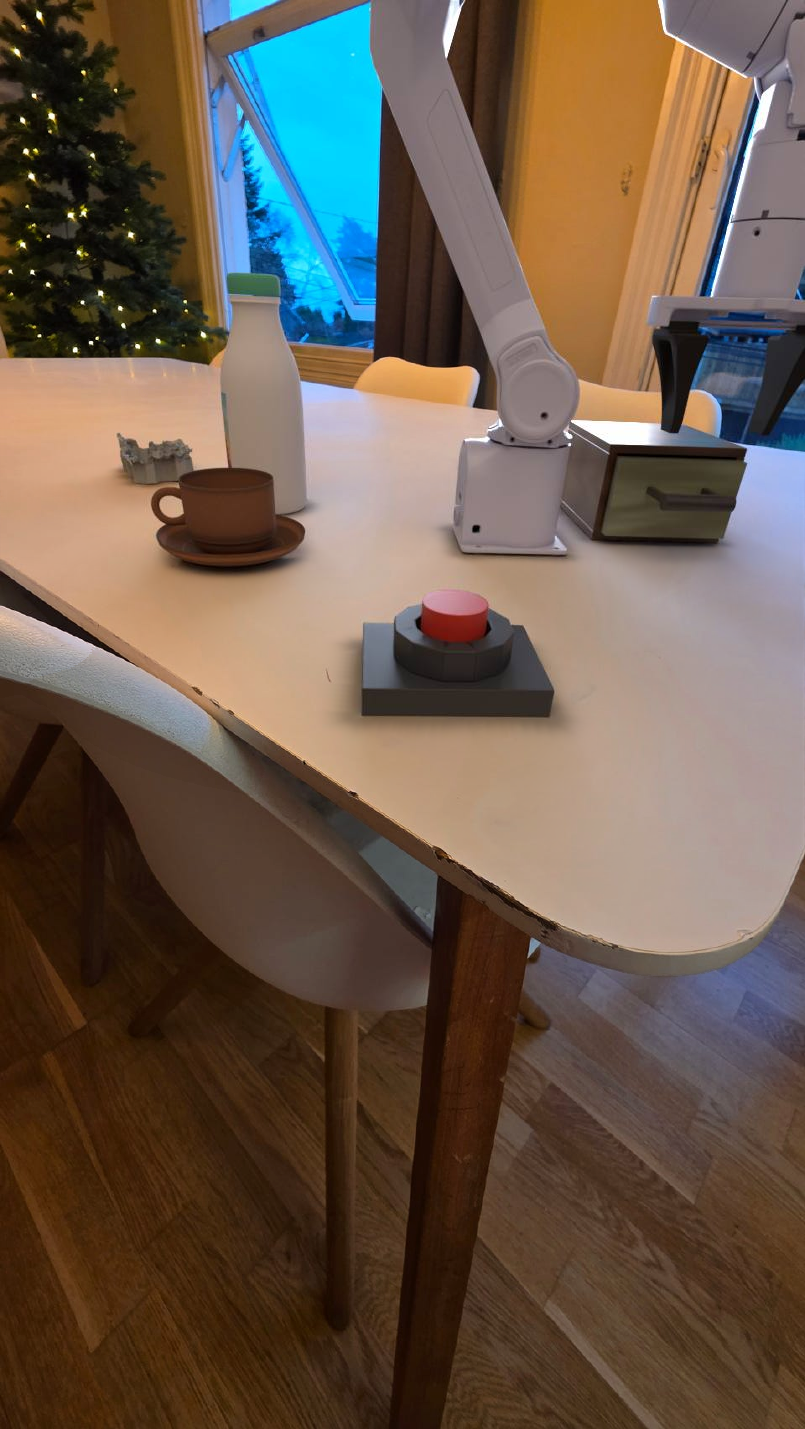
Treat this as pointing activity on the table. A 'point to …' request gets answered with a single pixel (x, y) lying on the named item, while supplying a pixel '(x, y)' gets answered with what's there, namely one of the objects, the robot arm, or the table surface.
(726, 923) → the table surface
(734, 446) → the cabinet
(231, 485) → the cup and saucer
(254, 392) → the milk bottle
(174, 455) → the egg carton
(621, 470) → the drawer
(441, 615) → the button
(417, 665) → the control block
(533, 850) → the table surface
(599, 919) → the table surface
